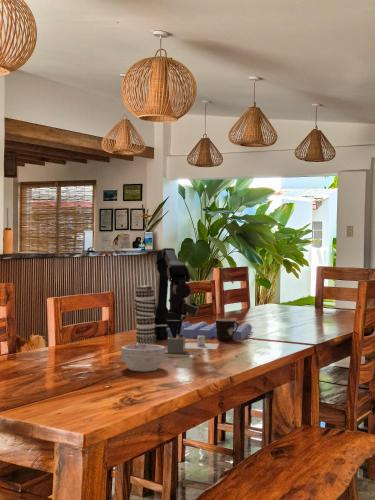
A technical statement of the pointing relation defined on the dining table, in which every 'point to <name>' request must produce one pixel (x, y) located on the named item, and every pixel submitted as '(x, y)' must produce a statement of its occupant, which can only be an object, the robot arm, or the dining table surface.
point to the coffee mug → (225, 329)
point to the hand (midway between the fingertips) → (176, 336)
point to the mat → (177, 355)
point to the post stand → (201, 344)
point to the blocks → (209, 330)
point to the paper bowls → (143, 357)
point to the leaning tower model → (145, 315)
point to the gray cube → (176, 345)
